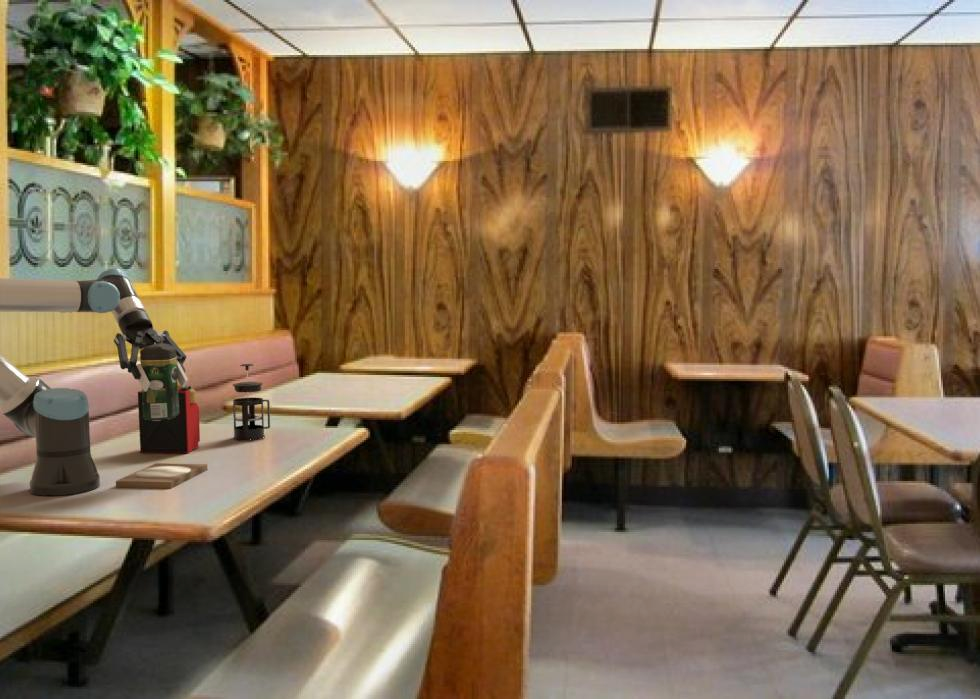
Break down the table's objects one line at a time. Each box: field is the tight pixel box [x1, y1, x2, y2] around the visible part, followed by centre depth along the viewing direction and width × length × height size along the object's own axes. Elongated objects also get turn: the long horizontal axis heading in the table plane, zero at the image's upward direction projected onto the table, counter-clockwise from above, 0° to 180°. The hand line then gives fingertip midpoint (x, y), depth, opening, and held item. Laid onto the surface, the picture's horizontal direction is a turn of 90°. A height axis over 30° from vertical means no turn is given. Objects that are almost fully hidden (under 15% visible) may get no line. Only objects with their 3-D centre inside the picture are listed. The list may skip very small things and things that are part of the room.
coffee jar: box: [139, 343, 179, 421], centre depth 225 cm, size 10×8×19 cm
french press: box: [232, 363, 271, 441], centre depth 280 cm, size 12×9×23 cm
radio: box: [137, 382, 201, 454], centre depth 262 cm, size 16×10×20 cm, turn 84°
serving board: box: [115, 462, 208, 489], centre depth 227 cm, size 20×14×2 cm
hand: (166, 385), depth 223 cm, fingers closed on coffee jar, 9 cm apart
